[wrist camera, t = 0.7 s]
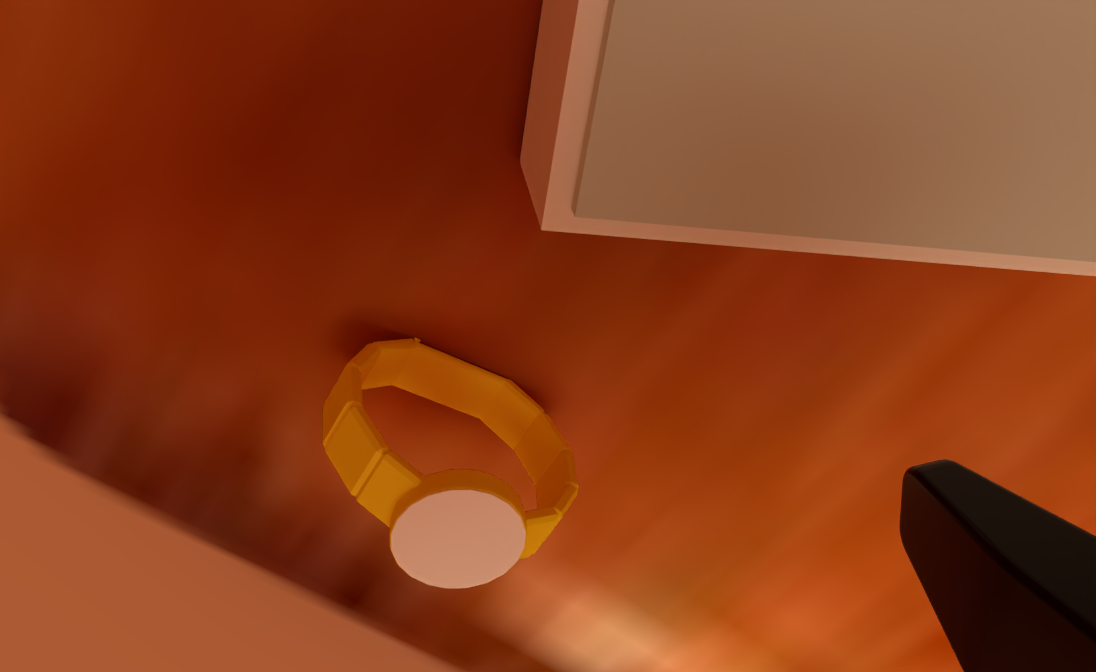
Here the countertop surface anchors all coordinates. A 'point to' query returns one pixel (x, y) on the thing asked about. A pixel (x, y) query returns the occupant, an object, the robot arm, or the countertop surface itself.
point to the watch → (456, 494)
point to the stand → (822, 127)
